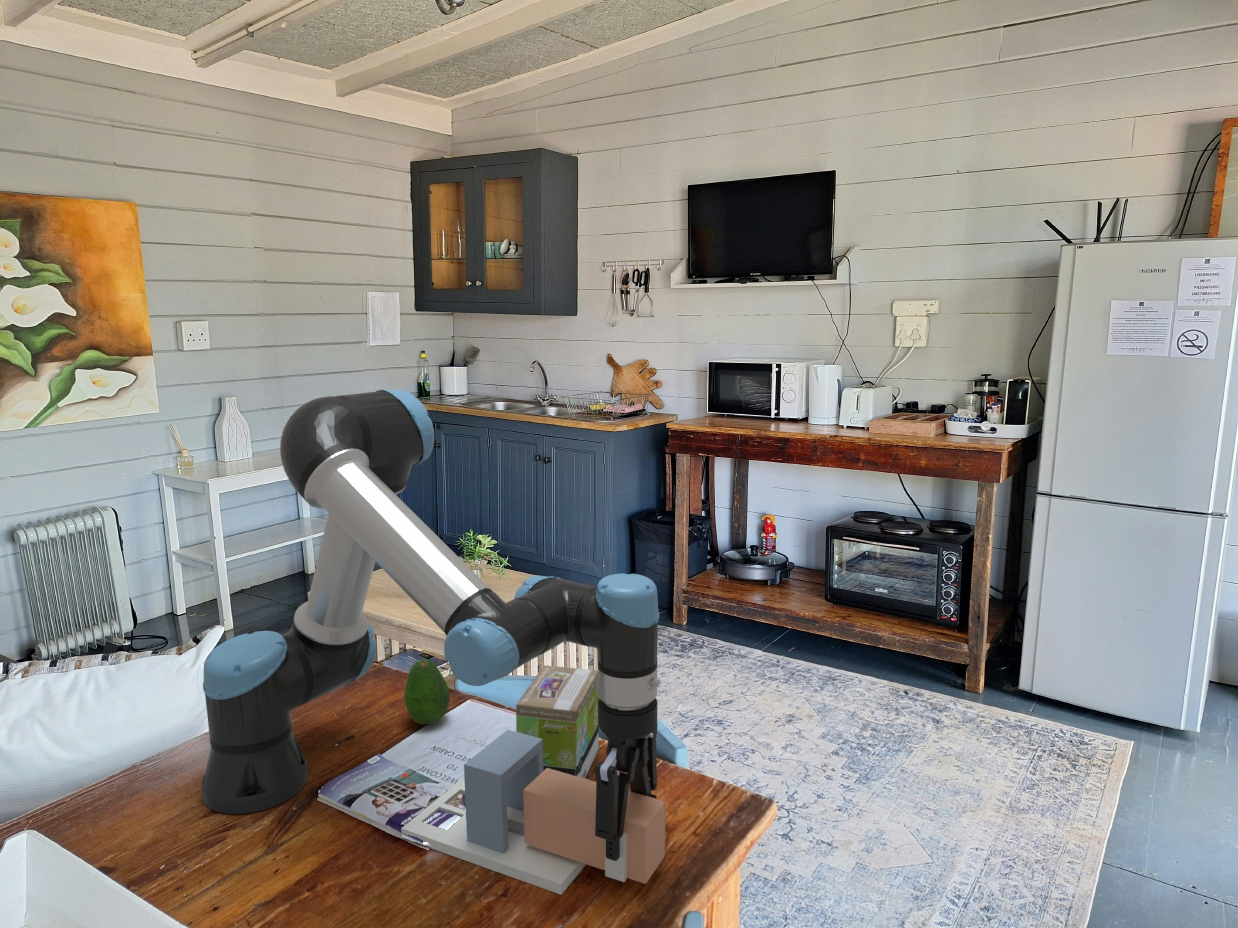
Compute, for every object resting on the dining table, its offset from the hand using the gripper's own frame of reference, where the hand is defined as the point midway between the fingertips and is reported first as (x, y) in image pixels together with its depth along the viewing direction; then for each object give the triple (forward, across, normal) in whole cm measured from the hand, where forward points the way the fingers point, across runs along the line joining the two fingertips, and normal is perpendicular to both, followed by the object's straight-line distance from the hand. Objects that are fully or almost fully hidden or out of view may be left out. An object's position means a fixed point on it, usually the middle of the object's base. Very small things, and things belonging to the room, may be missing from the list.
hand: (627, 861), depth 110 cm
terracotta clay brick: (0, 0, +5) cm, 5 cm away
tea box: (+2, +18, +21) cm, 28 cm away
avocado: (+2, +21, +50) cm, 54 cm away
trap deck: (+2, 0, +19) cm, 19 cm away
